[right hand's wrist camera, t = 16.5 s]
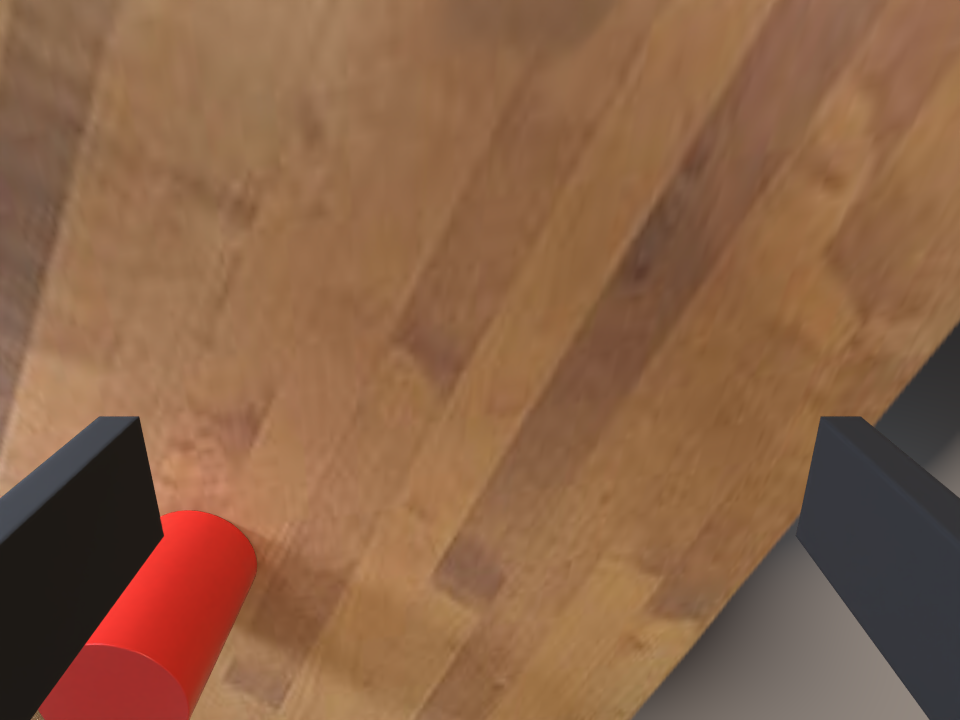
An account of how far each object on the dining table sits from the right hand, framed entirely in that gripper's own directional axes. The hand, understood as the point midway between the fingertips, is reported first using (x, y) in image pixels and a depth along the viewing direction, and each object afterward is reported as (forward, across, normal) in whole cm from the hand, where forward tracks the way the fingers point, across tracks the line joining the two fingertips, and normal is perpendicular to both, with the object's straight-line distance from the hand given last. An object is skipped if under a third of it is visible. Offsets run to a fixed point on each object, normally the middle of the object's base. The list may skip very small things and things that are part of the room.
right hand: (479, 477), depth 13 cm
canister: (+27, -20, -23) cm, 41 cm away
